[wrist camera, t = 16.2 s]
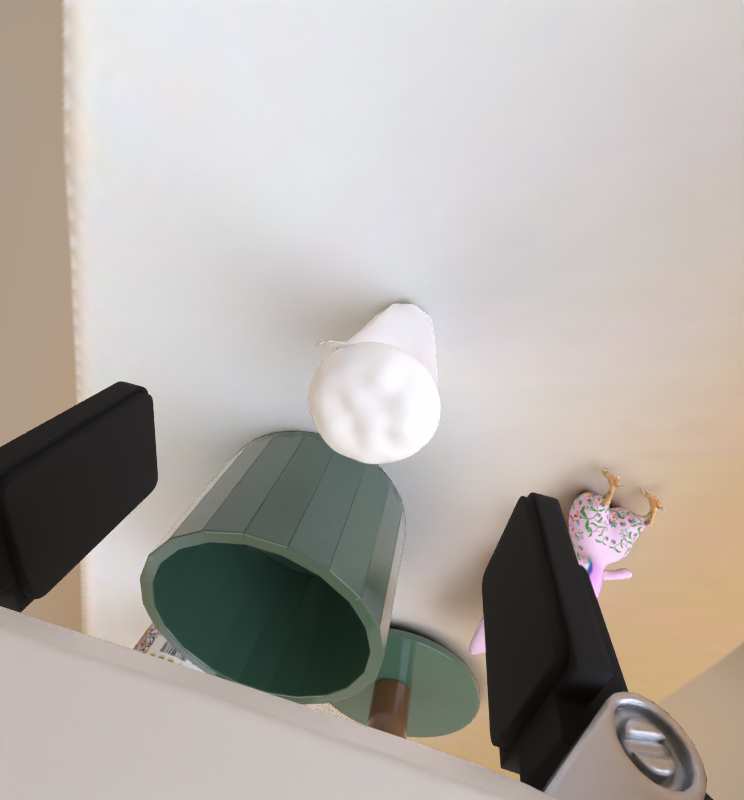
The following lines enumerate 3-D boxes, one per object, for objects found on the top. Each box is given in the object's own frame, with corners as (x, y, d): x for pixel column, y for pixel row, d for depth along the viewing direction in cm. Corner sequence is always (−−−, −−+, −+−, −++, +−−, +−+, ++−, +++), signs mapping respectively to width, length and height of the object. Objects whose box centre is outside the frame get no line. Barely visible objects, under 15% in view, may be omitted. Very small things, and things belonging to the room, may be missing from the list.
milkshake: (431, 259, 19) (403, 320, 11) (458, 364, 21) (452, 487, 13) (342, 287, 21) (252, 360, 12) (375, 382, 23) (319, 505, 14)
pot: (226, 408, 26) (128, 498, 18) (426, 463, 25) (410, 583, 17) (223, 549, 32) (149, 660, 24) (384, 598, 31) (358, 730, 23)
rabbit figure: (569, 441, 24) (438, 616, 29) (613, 498, 18) (441, 703, 23) (665, 491, 24) (518, 656, 29) (738, 562, 18) (540, 751, 23)
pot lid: (327, 598, 32) (296, 691, 26) (503, 653, 31) (512, 762, 25) (307, 691, 38) (279, 782, 33) (452, 739, 37) (449, 842, 31)
